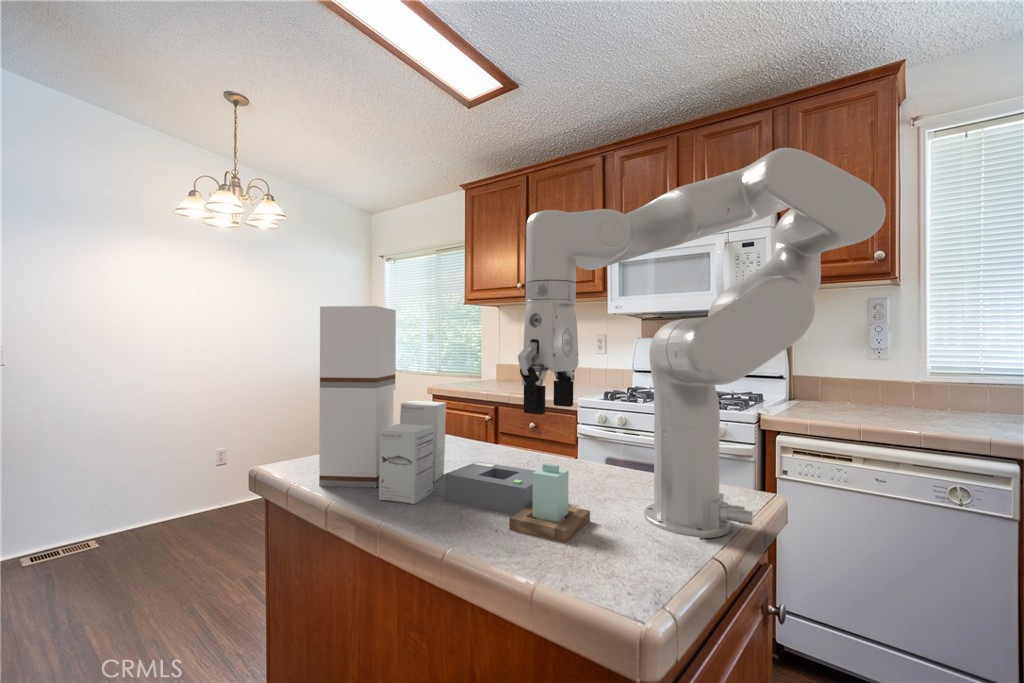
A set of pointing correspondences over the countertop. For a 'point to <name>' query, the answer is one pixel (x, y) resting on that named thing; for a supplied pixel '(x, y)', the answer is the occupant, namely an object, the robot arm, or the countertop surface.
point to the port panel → (491, 487)
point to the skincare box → (428, 416)
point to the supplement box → (406, 463)
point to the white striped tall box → (355, 392)
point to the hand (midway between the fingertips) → (549, 409)
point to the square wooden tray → (550, 524)
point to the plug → (550, 493)
